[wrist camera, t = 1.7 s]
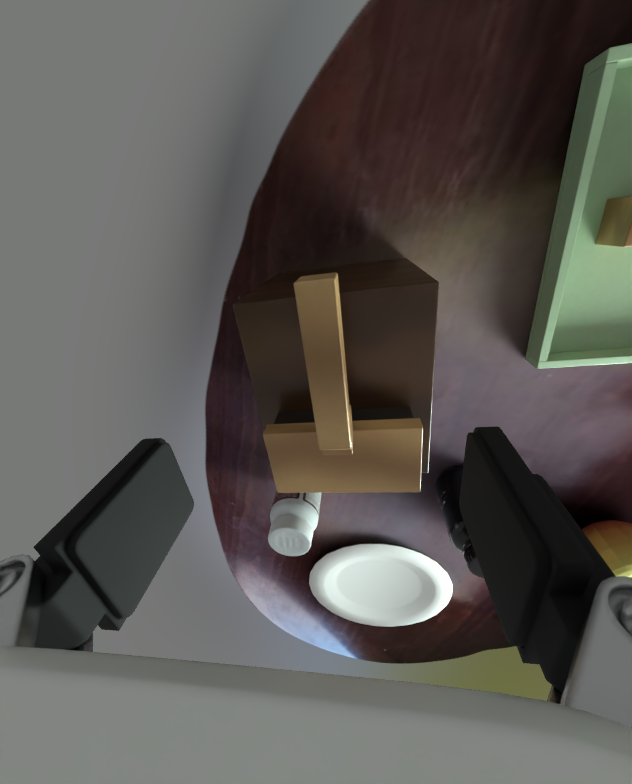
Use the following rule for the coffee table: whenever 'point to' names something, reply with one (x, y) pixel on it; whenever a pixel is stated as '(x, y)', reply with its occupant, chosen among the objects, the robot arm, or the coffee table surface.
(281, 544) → the pill bottle
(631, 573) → the apple
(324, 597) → the plate
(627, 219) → the cork block
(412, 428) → the brush
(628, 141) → the tray
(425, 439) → the stand
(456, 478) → the supplement bottle
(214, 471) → the coffee table surface
